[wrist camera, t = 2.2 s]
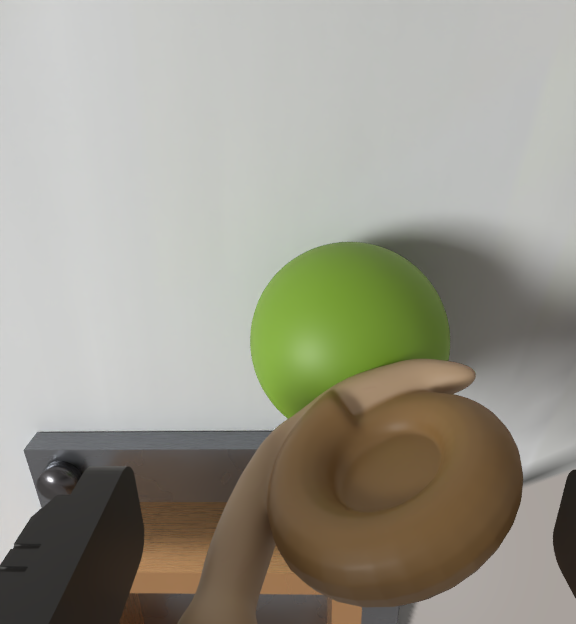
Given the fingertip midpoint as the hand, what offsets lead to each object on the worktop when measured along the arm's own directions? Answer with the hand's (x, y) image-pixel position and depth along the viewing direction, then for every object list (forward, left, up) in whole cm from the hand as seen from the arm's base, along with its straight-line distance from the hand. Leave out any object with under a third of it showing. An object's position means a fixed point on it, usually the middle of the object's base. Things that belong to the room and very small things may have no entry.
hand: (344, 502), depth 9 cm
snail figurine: (0, 0, -8) cm, 8 cm away
